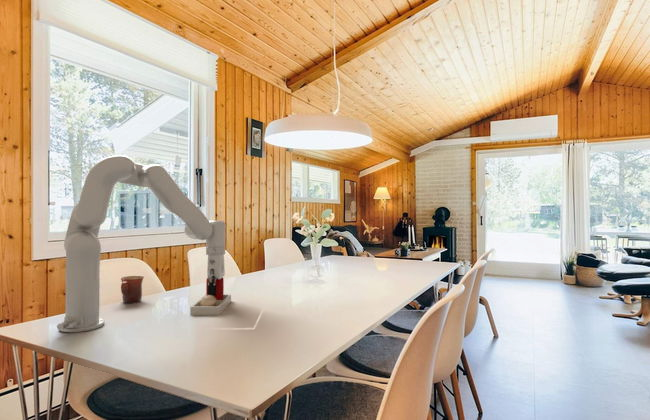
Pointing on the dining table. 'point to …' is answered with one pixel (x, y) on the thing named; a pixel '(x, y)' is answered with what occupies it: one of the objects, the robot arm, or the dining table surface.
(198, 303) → the carton
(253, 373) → the dining table surface
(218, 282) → the beverage can
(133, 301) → the mug
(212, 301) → the wooden egg
